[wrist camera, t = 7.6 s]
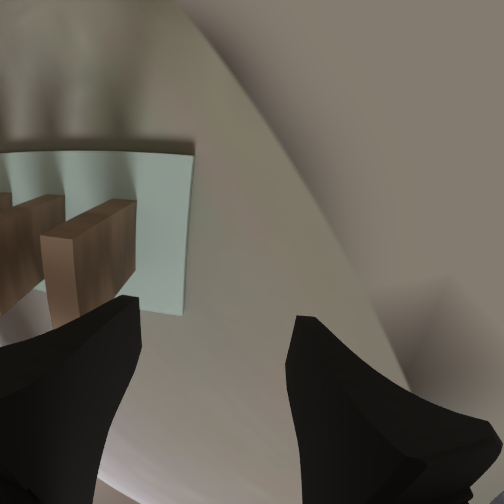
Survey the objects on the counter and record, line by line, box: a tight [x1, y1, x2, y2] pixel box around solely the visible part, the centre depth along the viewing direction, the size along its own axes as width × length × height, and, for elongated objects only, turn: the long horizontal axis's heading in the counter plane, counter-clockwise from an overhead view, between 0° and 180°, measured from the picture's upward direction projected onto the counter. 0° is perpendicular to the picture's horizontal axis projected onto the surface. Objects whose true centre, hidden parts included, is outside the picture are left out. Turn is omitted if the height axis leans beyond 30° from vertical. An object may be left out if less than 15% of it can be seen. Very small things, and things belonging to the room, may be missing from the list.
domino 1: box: [0, 194, 66, 316], centre depth 14 cm, size 4×2×8 cm, turn 173°
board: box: [0, 151, 195, 316], centre depth 17 cm, size 10×28×1 cm, turn 83°
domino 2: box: [40, 198, 137, 330], centre depth 14 cm, size 4×2×8 cm, turn 172°
